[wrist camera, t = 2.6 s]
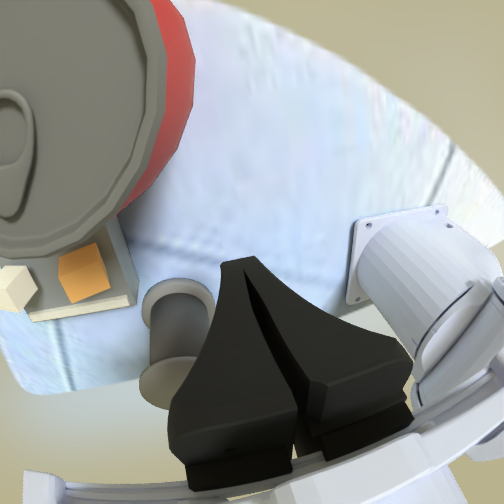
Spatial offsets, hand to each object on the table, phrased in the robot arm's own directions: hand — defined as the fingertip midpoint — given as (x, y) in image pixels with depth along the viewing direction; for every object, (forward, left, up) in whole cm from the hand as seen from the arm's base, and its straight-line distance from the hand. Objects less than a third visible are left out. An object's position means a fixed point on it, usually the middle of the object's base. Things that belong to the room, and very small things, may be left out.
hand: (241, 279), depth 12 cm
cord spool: (+4, +7, -7) cm, 11 cm away
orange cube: (+8, 0, -5) cm, 9 cm away
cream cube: (+12, 0, -5) cm, 13 cm away
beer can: (+4, -8, -7) cm, 12 cm away
